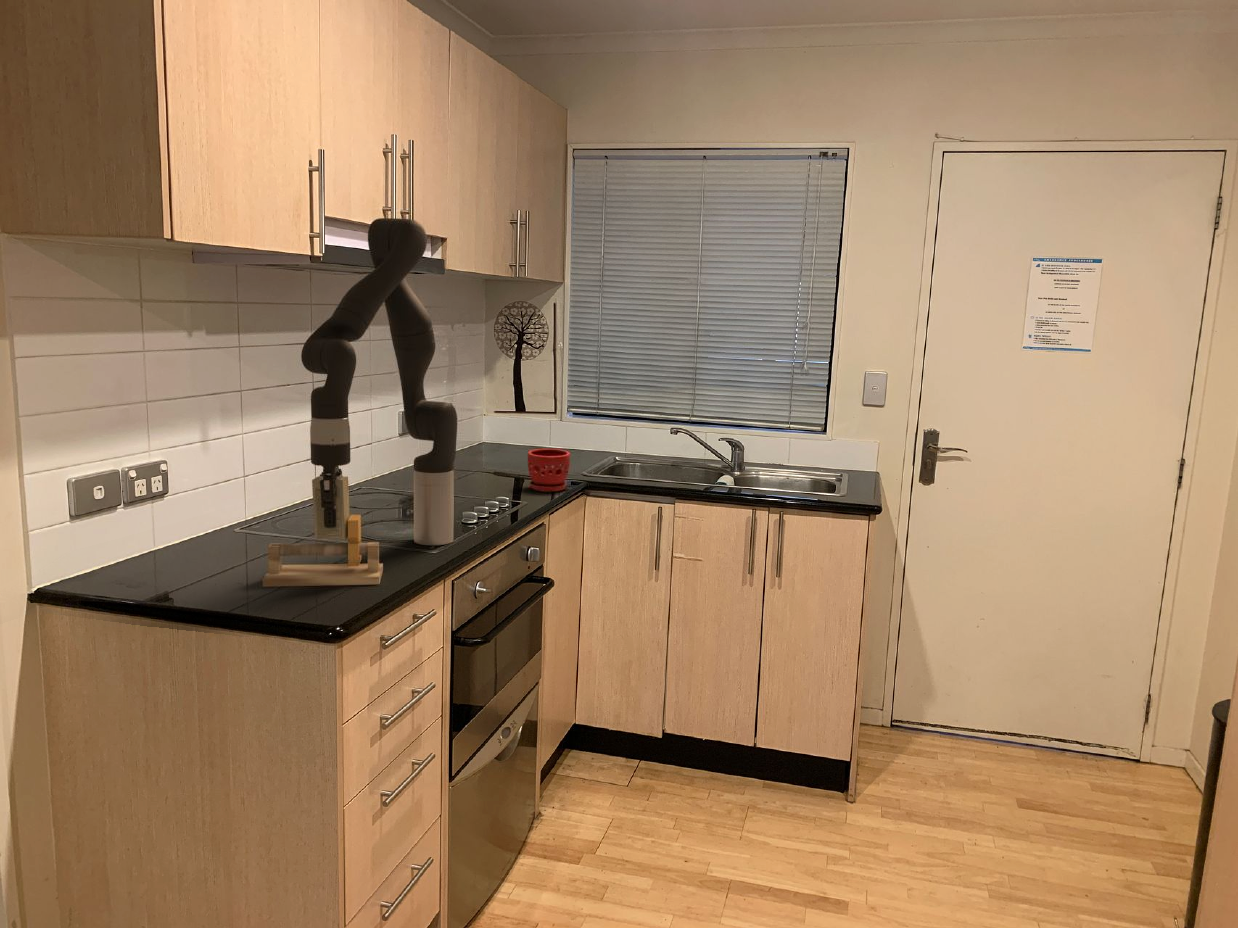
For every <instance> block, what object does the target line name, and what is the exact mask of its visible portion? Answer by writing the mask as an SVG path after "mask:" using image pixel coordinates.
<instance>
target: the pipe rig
mask: <svg viewBox="0 0 1238 928" xmlns="http://www.w3.org/2000/svg"><path fill="white" fill-rule="evenodd" d="M267 555H268V557H267V559H268V571H267V572H266V573H265V575H264V577H263V578H262V587H265V588H267V587H305V586H306V587H308V586H309V587H311V586H315V587H317V586H319V587H320V586H360V585H362V586H363V585H366V586H367V585H380V584H381V579H382V576H383V571H384V563H380V542H379V541H369V542H361V543H359V555H361V556H365V555H367V563H360V564H359V566H348V563H331V564H329V563H327V564H326V563H321V564H319V563H318V564H317V563H316V564H314V563H313V564H310V563H309V564H283V560H282V558H283V557H292V556H293V557H295V556H297V557H301V556H302V557H303V556H307V557H309V556H314V557H315V556H347V557H348V541H347V542H339V543H338V542H334V543H333V542H330V543H329V542H327V543H326V542H325V543H321V542H320V543H317V542H316V543H314V542H313V543H280V542H279V543H278V542H277V543H276V542H275V543H270V544H269V545H268V547H267Z"/></svg>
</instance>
